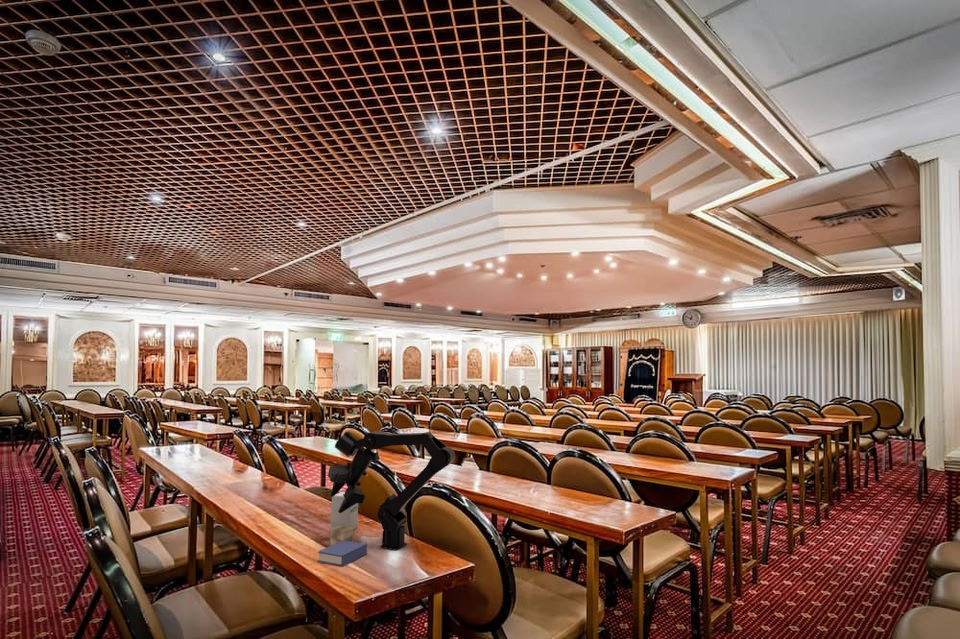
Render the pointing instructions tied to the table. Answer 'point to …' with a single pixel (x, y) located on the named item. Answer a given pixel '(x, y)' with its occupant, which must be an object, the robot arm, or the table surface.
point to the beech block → (341, 534)
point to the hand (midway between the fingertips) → (335, 504)
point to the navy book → (342, 553)
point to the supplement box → (343, 513)
